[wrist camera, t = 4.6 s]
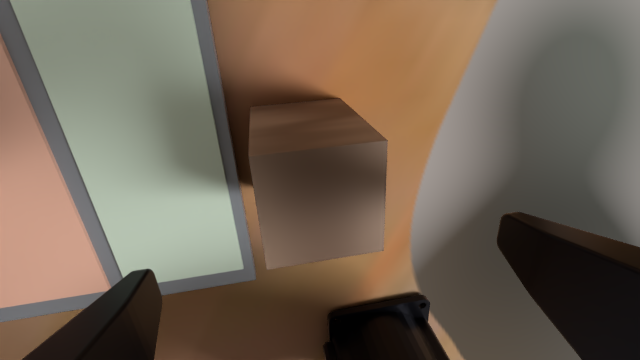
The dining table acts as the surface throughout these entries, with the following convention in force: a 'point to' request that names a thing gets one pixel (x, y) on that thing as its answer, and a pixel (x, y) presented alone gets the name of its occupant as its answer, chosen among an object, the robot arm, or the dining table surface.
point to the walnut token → (317, 181)
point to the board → (113, 153)
